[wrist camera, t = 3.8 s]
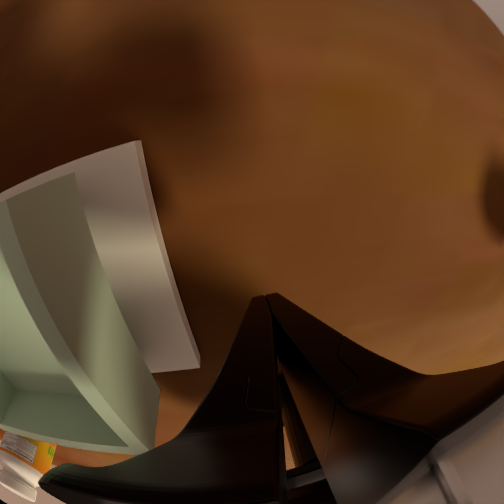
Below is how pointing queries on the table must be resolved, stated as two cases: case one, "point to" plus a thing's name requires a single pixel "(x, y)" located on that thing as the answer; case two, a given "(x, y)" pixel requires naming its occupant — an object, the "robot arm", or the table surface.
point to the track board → (131, 251)
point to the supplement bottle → (24, 463)
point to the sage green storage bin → (66, 332)
